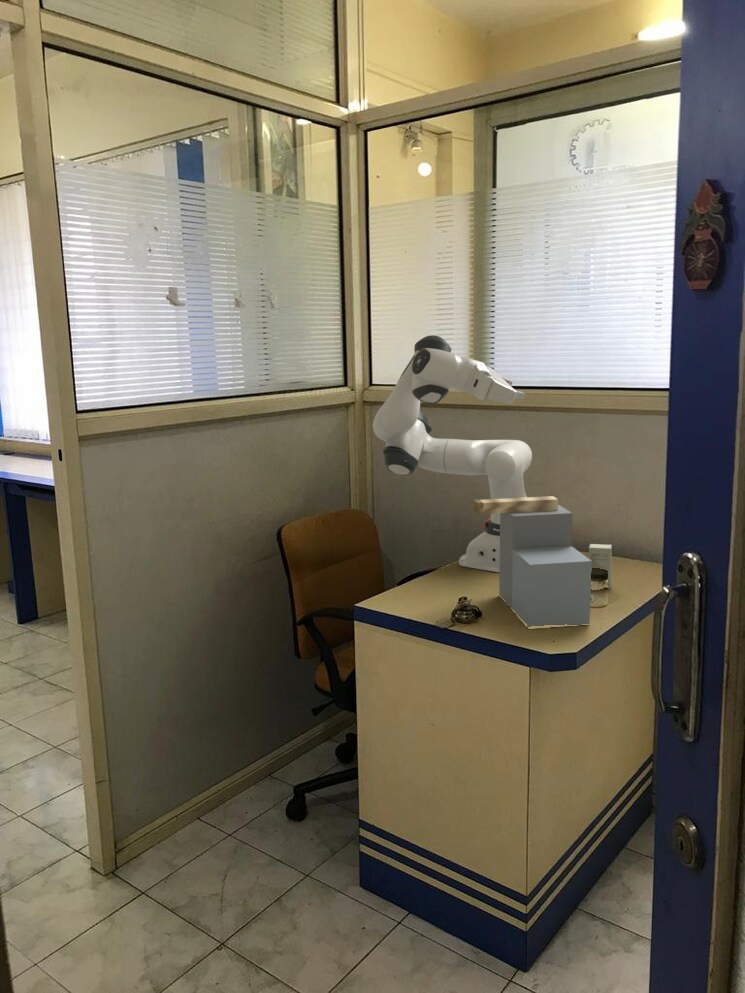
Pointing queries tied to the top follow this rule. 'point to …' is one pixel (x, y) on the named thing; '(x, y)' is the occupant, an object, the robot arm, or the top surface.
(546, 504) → the birch bar
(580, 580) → the stepped stand
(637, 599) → the top surface
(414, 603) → the top surface
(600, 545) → the skincare box
